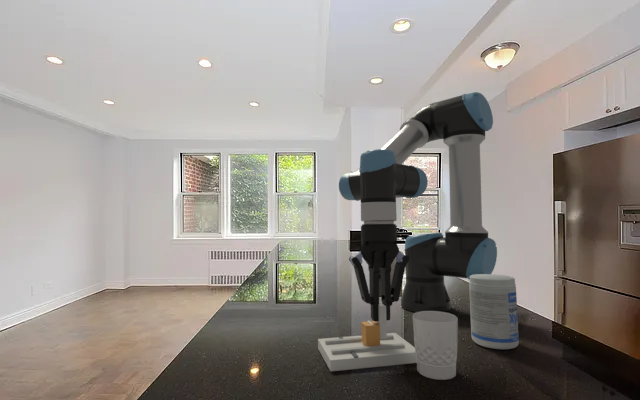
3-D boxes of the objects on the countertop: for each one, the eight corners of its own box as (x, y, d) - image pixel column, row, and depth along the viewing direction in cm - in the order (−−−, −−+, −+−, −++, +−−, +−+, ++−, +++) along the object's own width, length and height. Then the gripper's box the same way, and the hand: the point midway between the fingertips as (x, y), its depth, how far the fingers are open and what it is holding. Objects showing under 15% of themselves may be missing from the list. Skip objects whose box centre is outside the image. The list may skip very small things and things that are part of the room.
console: (395, 341, 80) (395, 330, 80) (420, 362, 68) (420, 348, 68) (318, 348, 76) (317, 336, 76) (330, 371, 64) (330, 356, 65)
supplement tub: (523, 353, 72) (520, 281, 73) (473, 348, 75) (471, 279, 76) (513, 338, 81) (510, 274, 82) (469, 334, 84) (466, 272, 85)
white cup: (408, 364, 67) (406, 311, 68) (447, 362, 68) (445, 310, 69) (423, 383, 59) (421, 323, 60) (468, 380, 60) (465, 321, 61)
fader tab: (375, 340, 74) (374, 320, 74) (380, 345, 71) (379, 324, 71) (361, 341, 74) (361, 321, 74) (366, 346, 71) (365, 325, 71)
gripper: (399, 222, 79) (402, 328, 78) (344, 223, 77) (345, 333, 75) (415, 222, 72) (418, 339, 70) (354, 223, 69) (356, 345, 68)
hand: (381, 336), depth 73 cm, fingers closed
